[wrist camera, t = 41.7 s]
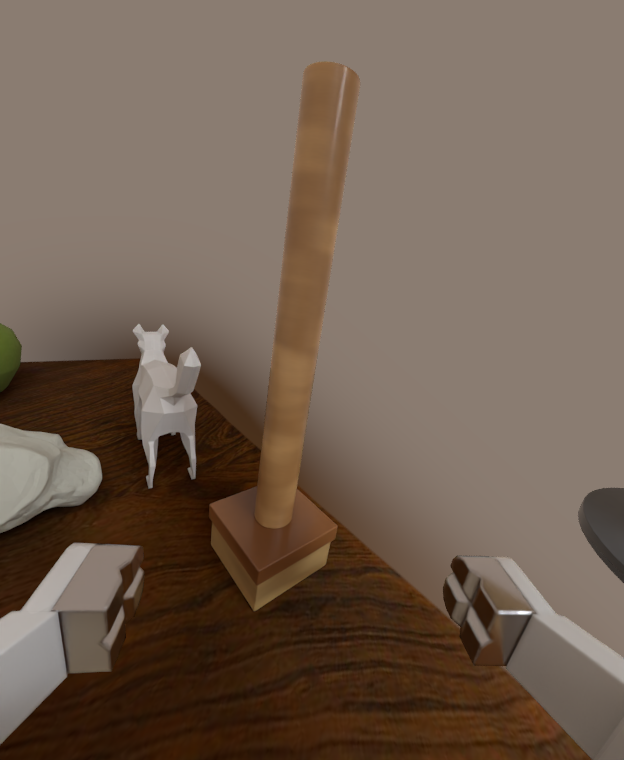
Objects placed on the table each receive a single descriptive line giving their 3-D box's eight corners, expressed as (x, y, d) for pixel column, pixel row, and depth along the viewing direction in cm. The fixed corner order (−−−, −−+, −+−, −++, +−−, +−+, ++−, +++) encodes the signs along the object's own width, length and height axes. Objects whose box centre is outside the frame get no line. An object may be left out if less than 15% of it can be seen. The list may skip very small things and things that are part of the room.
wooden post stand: (278, 511, 28) (333, 121, 19) (329, 565, 24) (431, 92, 15) (206, 543, 24) (233, 64, 15) (252, 617, 19) (330, 0, 11)
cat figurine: (169, 413, 42) (170, 300, 37) (217, 521, 26) (229, 349, 21) (129, 418, 39) (125, 297, 35) (155, 539, 24) (154, 349, 19)
